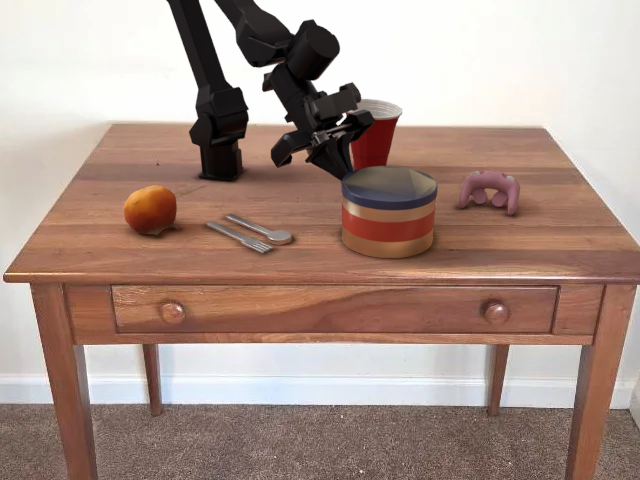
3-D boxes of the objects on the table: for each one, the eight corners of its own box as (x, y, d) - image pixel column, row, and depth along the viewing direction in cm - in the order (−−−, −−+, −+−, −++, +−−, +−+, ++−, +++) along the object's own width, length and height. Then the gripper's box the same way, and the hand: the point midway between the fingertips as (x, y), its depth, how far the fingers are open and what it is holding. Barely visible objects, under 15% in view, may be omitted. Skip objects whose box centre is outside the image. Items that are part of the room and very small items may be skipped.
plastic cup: (394, 182, 135) (398, 116, 128) (336, 177, 136) (336, 111, 130) (403, 162, 144) (407, 99, 137) (349, 157, 145) (349, 95, 139)
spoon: (219, 220, 119) (219, 216, 119) (237, 214, 122) (236, 209, 121) (279, 247, 112) (278, 242, 111) (296, 239, 114) (296, 234, 114)
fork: (203, 227, 117) (203, 224, 117) (214, 222, 119) (214, 220, 118) (262, 254, 110) (262, 250, 109) (273, 249, 111) (273, 246, 111)
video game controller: (516, 217, 126) (524, 176, 125) (514, 215, 122) (522, 172, 121) (459, 209, 129) (466, 168, 128) (455, 207, 124) (462, 164, 123)
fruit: (161, 238, 110) (135, 188, 108) (133, 251, 115) (107, 204, 113) (199, 219, 116) (174, 172, 114) (170, 233, 121) (146, 188, 119)
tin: (330, 252, 110) (330, 195, 106) (352, 214, 122) (353, 161, 117) (426, 263, 108) (430, 206, 103) (439, 224, 120) (443, 170, 115)
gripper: (280, 77, 103) (338, 173, 103) (367, 56, 115) (420, 142, 115) (246, 122, 112) (300, 210, 112) (331, 98, 124) (380, 178, 124)
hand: (352, 184), depth 115 cm, fingers closed, pressing on tin
